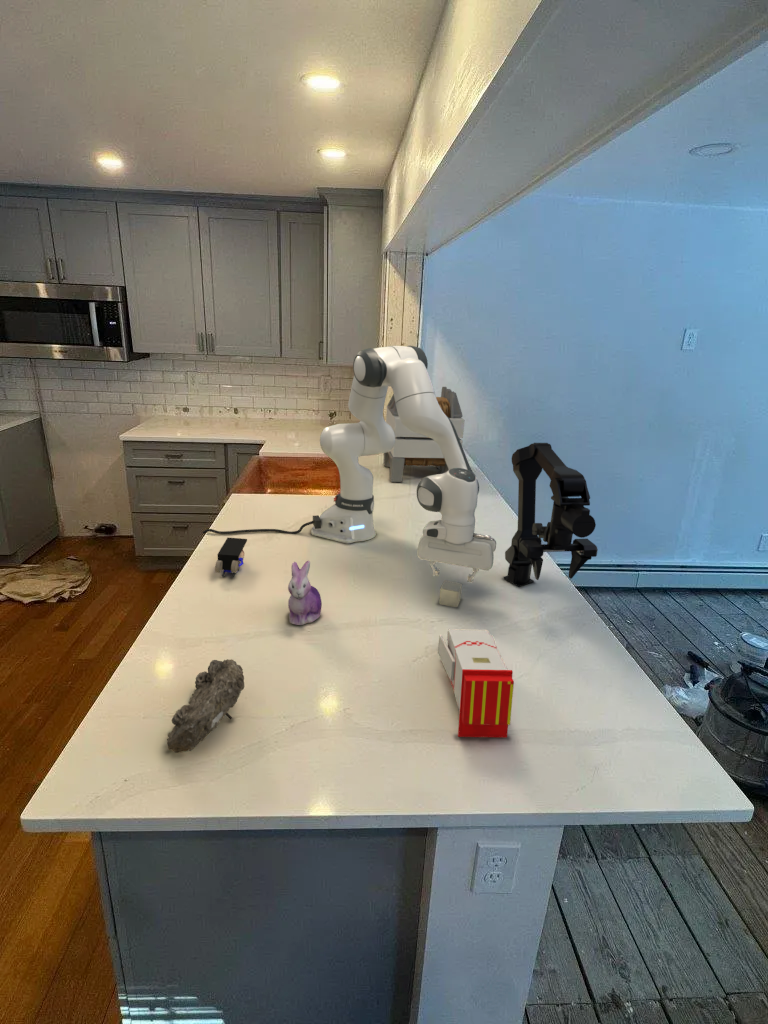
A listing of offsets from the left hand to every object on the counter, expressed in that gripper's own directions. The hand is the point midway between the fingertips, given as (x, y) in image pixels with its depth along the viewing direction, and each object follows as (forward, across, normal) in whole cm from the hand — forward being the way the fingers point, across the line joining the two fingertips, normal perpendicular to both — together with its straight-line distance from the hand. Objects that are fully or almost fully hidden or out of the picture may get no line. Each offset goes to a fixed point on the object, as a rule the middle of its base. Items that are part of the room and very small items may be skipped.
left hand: (453, 578), depth 153 cm
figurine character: (+7, +64, +7) cm, 65 cm away
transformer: (+6, +42, -120) cm, 127 cm away
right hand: (-4, -26, -2) cm, 26 cm away
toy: (+7, -12, +37) cm, 40 cm away
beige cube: (+7, 0, +1) cm, 7 cm away
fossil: (+7, +32, +63) cm, 72 cm away
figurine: (+7, +33, +23) cm, 41 cm away
